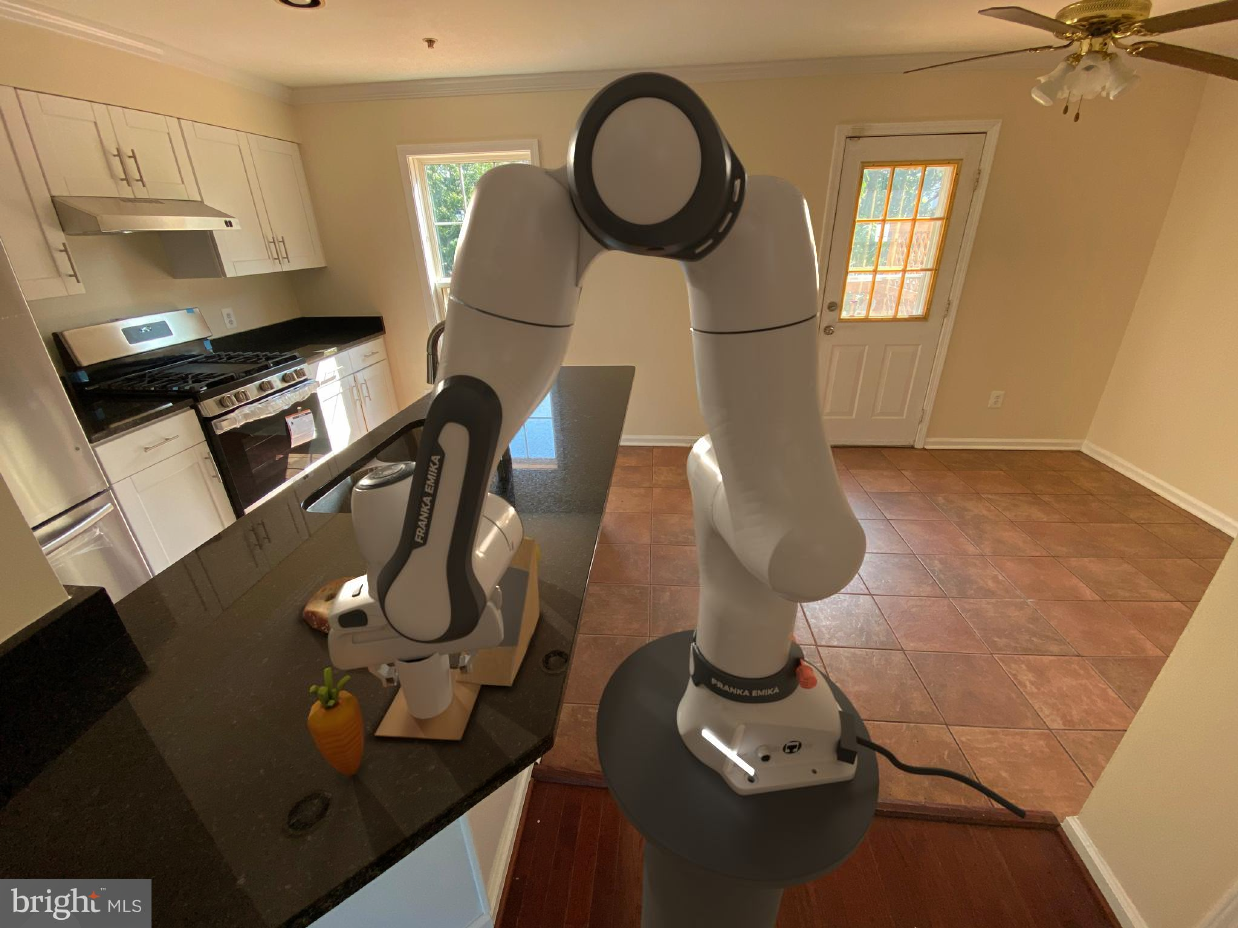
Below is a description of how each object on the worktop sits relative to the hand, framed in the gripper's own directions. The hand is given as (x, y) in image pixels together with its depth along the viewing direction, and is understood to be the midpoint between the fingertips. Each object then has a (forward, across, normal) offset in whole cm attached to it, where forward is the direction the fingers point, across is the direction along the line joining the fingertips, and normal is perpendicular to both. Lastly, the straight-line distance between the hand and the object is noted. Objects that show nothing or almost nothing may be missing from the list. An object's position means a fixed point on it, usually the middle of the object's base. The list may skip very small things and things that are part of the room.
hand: (429, 676), depth 65 cm
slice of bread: (+5, +12, -22) cm, 26 cm away
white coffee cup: (+5, 0, 0) cm, 5 cm away
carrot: (+5, +8, +8) cm, 13 cm away
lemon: (+5, -14, -26) cm, 30 cm away
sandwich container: (+5, -9, -9) cm, 13 cm away
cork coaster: (+5, 0, 0) cm, 5 cm away
